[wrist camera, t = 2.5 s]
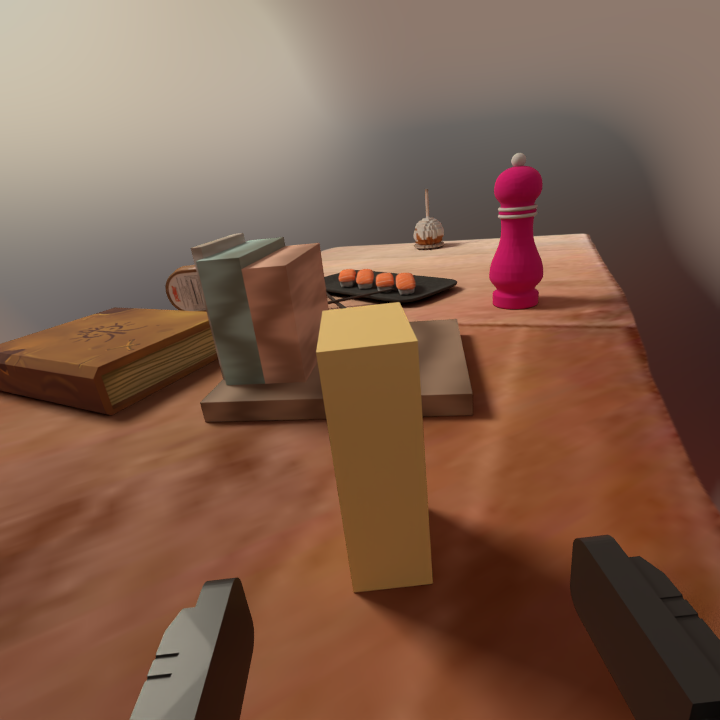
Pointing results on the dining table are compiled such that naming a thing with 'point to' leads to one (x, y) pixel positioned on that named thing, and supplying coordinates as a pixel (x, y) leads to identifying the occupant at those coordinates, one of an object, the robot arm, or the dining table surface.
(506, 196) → the pepper mill
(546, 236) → the dining table surface
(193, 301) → the tin
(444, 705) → the dining table surface
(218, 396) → the blocks on base plate
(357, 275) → the sushi plate
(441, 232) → the caramel apple
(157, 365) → the diary
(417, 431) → the tall mustard yellow pillar
